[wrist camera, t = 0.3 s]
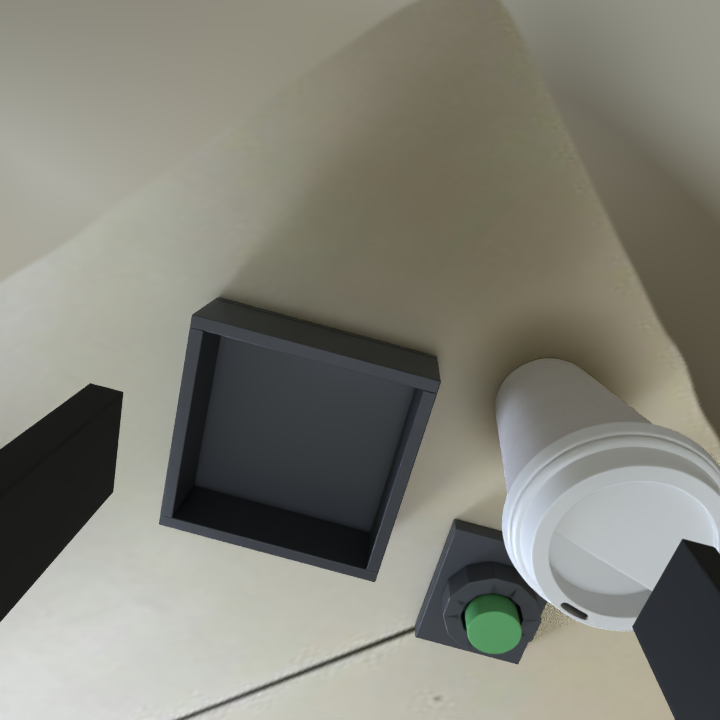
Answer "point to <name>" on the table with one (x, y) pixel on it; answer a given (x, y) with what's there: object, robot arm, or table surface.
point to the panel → (475, 589)
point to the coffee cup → (596, 493)
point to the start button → (492, 623)
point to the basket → (295, 437)
